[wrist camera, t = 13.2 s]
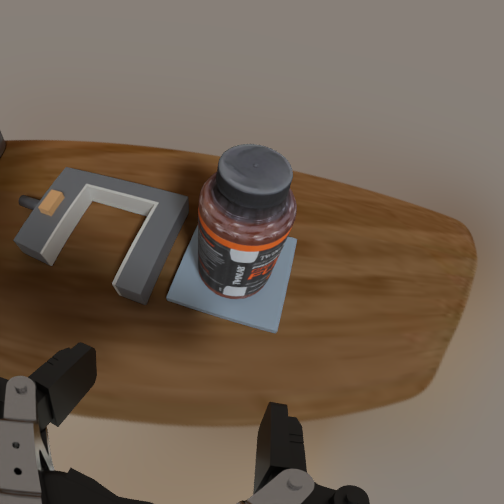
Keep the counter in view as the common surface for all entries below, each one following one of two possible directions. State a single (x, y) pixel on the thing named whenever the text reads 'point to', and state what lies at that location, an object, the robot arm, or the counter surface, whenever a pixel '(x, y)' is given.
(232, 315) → the coaster
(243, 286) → the supplement bottle
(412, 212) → the counter surface
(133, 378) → the counter surface
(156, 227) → the grey c-shaped bracket
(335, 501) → the robot arm
